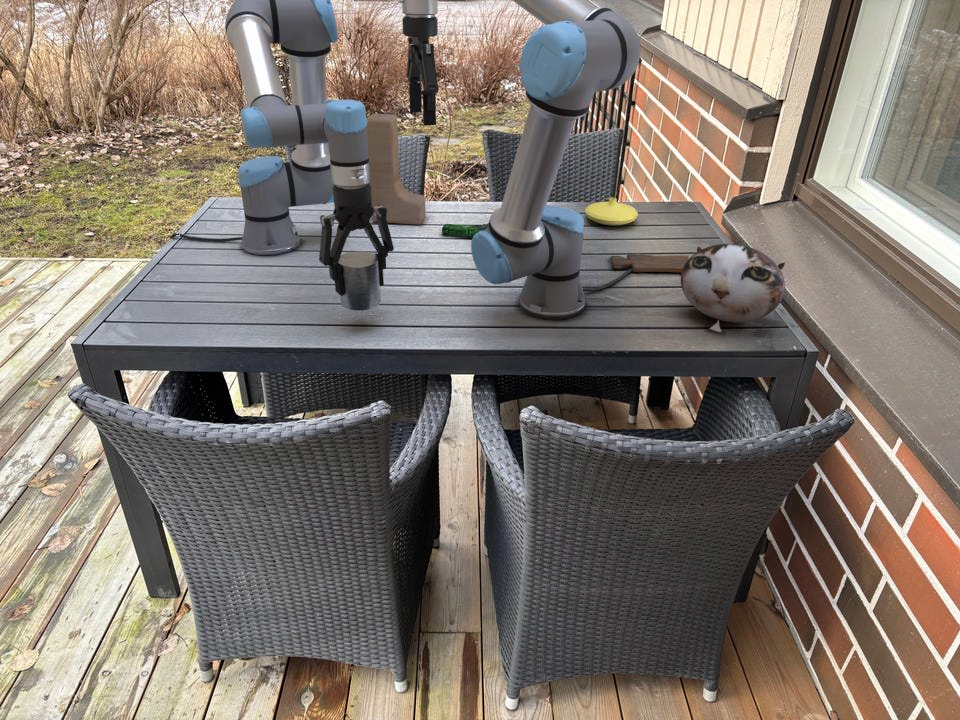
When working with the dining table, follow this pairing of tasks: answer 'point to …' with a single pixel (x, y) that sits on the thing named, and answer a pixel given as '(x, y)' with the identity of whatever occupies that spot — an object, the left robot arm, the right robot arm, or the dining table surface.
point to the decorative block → (390, 173)
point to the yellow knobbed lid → (611, 213)
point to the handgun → (463, 230)
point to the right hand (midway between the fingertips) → (422, 118)
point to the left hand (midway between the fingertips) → (359, 288)
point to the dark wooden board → (650, 263)
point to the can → (360, 281)
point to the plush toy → (732, 283)
